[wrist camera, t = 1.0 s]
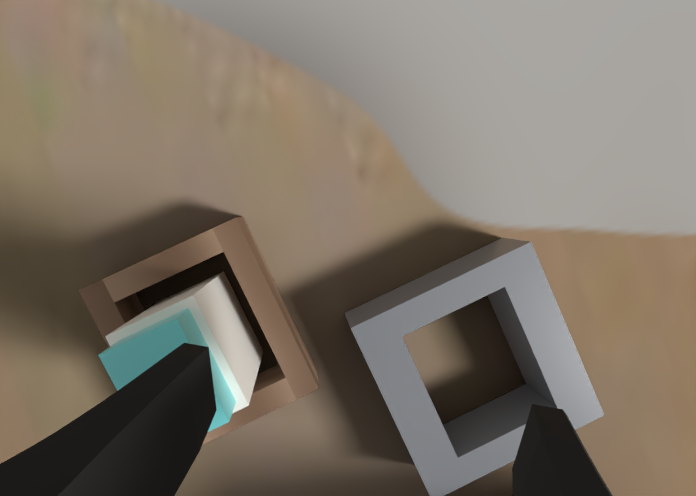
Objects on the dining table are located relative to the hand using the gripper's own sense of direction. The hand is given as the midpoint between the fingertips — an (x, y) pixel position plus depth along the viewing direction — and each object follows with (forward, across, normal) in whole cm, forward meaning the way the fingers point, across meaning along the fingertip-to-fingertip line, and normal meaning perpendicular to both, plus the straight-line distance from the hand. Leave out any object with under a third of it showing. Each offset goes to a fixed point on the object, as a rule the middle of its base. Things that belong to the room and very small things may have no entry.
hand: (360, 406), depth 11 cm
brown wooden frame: (+8, +8, +6) cm, 13 cm away
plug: (+8, +8, +6) cm, 13 cm away
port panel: (+11, -3, +7) cm, 13 cm away
